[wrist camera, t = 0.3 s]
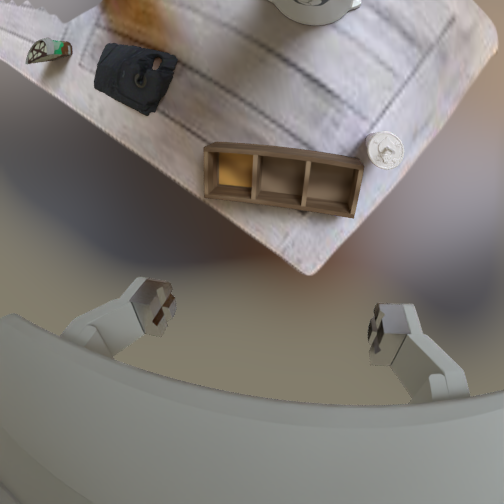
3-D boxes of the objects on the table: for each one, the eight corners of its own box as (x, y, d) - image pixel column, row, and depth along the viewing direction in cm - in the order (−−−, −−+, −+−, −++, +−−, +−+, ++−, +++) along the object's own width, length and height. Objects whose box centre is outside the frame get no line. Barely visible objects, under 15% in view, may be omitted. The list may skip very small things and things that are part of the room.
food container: (78, 33, 41) (51, 32, 33) (75, 53, 44) (48, 54, 36) (52, 43, 42) (26, 44, 34) (50, 61, 46) (24, 64, 37)
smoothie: (390, 127, 43) (414, 137, 32) (389, 159, 46) (411, 179, 35) (358, 124, 45) (373, 132, 33) (358, 156, 48) (371, 175, 36)
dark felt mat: (115, 34, 42) (102, 33, 38) (185, 59, 44) (174, 57, 40) (92, 89, 50) (79, 90, 46) (155, 120, 53) (143, 122, 49)
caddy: (215, 141, 53) (203, 147, 47) (358, 158, 48) (364, 166, 43) (215, 188, 58) (204, 199, 53) (349, 206, 54) (353, 220, 48)
